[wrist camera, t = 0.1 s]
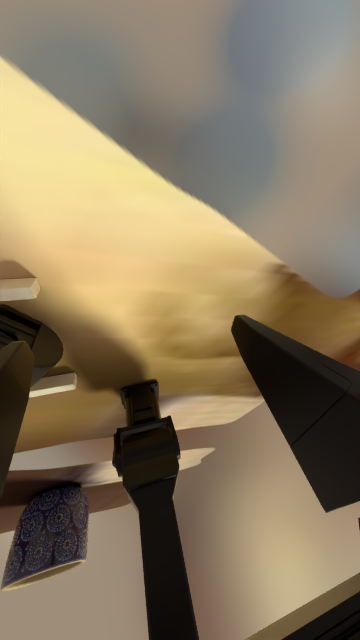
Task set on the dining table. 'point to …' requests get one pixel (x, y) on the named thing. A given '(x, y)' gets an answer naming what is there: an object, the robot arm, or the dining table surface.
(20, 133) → the dining table surface
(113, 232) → the dining table surface
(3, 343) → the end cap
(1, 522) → the dining table surface
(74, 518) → the planter
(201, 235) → the dining table surface
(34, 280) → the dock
